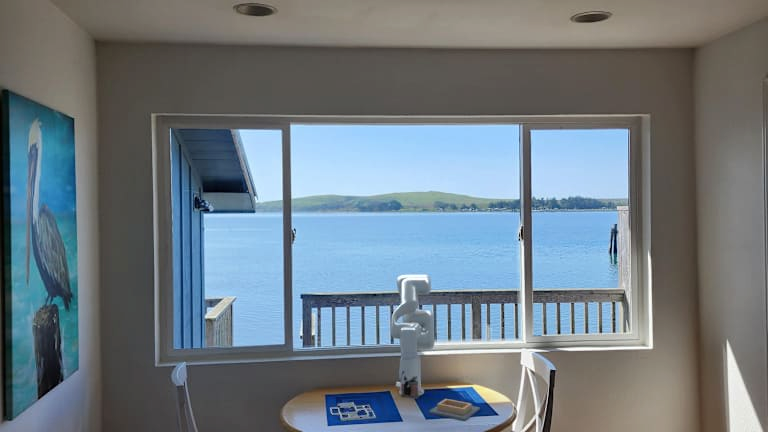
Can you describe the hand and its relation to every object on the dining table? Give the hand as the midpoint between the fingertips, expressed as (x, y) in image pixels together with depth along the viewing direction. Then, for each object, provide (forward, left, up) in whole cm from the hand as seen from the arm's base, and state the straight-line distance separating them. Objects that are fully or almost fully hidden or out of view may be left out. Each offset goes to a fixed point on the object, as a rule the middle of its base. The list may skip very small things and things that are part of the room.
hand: (409, 393), depth 268 cm
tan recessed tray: (+16, +12, -9) cm, 22 cm away
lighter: (0, 0, -2) cm, 2 cm away
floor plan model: (-26, -15, -10) cm, 31 cm away
